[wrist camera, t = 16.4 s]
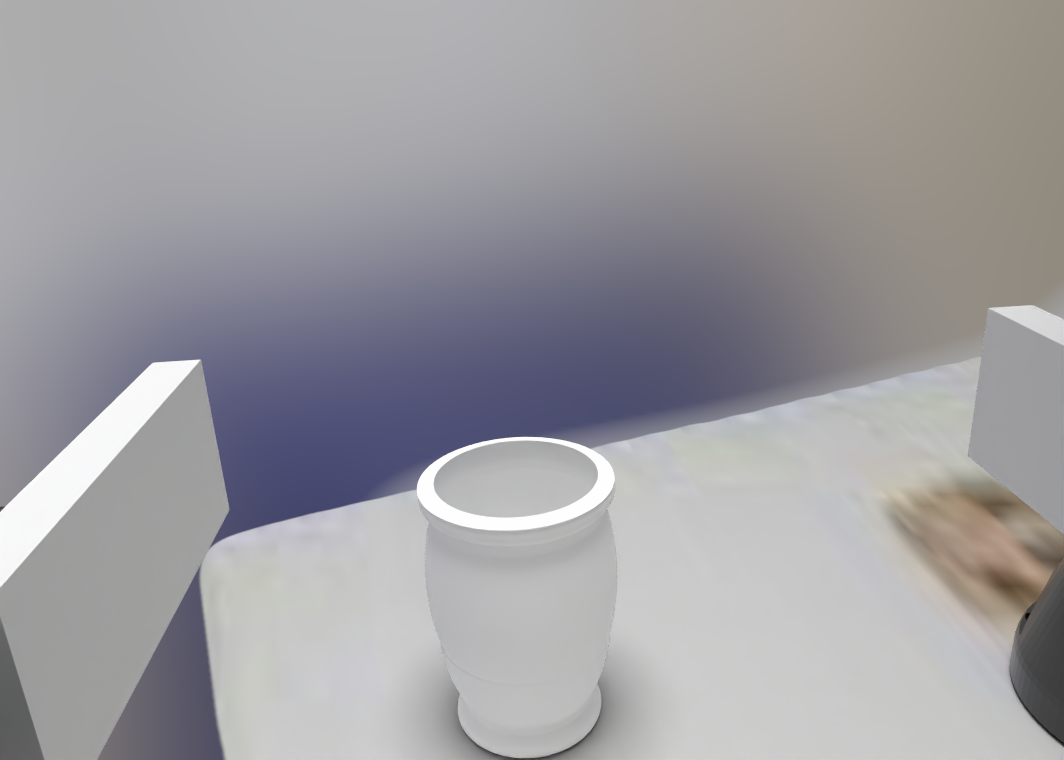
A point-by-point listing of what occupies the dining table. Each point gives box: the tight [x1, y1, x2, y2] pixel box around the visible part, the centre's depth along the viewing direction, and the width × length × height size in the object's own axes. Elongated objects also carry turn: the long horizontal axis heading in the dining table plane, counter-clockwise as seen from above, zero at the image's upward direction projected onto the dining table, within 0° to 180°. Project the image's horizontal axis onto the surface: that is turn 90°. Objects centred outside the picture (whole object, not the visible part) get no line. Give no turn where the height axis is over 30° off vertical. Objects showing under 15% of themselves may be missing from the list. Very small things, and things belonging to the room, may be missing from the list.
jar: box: [417, 437, 617, 758], centre depth 49 cm, size 11×10×15 cm
